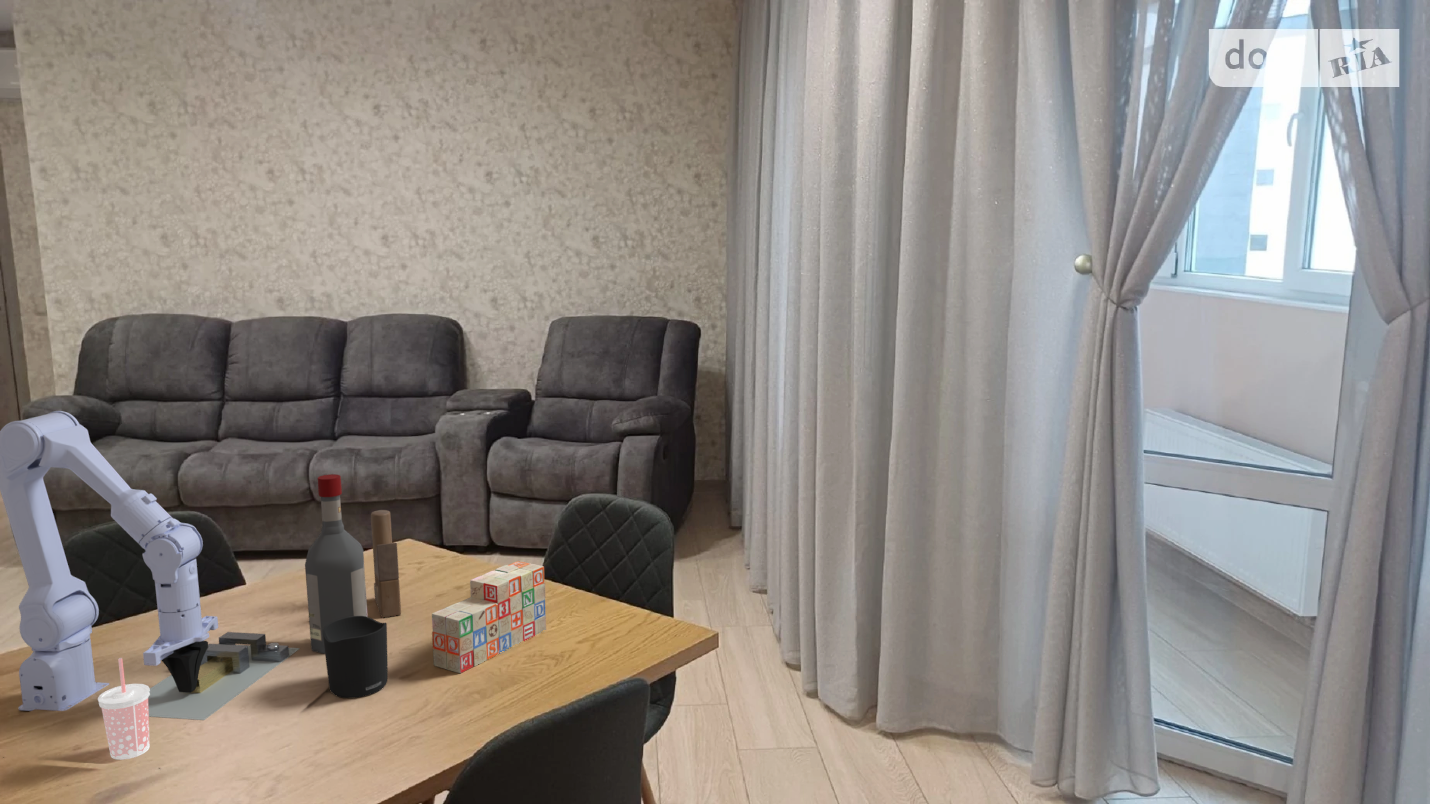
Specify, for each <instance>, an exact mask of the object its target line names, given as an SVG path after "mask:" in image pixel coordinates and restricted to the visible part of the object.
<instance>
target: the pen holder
mask: <svg viewBox="0 0 1430 804" xmlns="http://www.w3.org/2000/svg"><path fill="white" fill-rule="evenodd" d="M387 625H388V623H387V622H379V621H378V620H375V619H374V618H372V617H369V616H368V617H366V616H352V617H346V618H342V619H339V620H336V621H333V622H331V623H329V624H328V625H326V626H325V627H324V629H323V639H324V648H325V654H324V656H325V665H326V672H327V673H326V674H327V679H328V688H329V691H330V692H331V694H333V695H334V696H335V697H338V698H343V699H353V698H354V699H355V698H356V699H357V698H358V699H359V698H364V697H368V696H371V695H374V694H376V693H378V692H379V691H381V690H383V689H384V688H385V687H386V685H387V684H388V675H389V674H388V626H387ZM382 688H383V689H382Z"/></svg>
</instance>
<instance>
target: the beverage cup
mask: <svg viewBox="0 0 1430 804" xmlns="http://www.w3.org/2000/svg"><path fill="white" fill-rule="evenodd" d="M123 662H124V661H123V657H119V658H118V668H119V680H120V685H118V686H114V687H112V688H109V689H108V690H106V691H103V692H102V693H101V694H99V696H98V697H97V701H98V705H99V708H101V713H102V718H103V722H104V727H105V734H106V739H107V744H108V749H109V755H110V757H111V758H112V759H114V760H121V761H122V760H130V759H133V758H137V757H139V756H141V755H144V754H145V753H146V752H147V751H148V750H149V749H150V747H151V746H150V745H151V744H150V717H149V709H148V697H149V695H150V693H149V691H150V688H151V687H149V685H146V684H144V683H130V684H129V683H128V684H126V680H125V671H124V663H123Z"/></svg>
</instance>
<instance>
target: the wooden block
mask: <svg viewBox="0 0 1430 804" xmlns="http://www.w3.org/2000/svg"><path fill="white" fill-rule="evenodd" d="M391 517H392V516H391V511H389V510H387V509H379V510H375V511H372V512H371V513H370V523H371V525H370V526H371V538H372V539H371V541H372V555H373V556H372V557H373V571H374V572H373V573H374V583H373V589H374V591H373V592H374V600H375V603H376V606H377V608H378V611H379V614H380V617H381V618H382V617H385V618H391V617H390V616H392V617H397V616H396V615H398V616H401V615H402V606H401V603H402V602H401V589H400V588H401V587H400V579H399V578H400V575H399V574H400V572H399V557H398V555H399V554H398V553H399V552H398V542H393V537H392V536H393V535H392V519H391Z"/></svg>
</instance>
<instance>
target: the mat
mask: <svg viewBox="0 0 1430 804" xmlns="http://www.w3.org/2000/svg"><path fill="white" fill-rule="evenodd" d="M240 645H241V646H248V655H249V666H250V667H249V668H248V669H246V670H245V671H244V672H242V673H241V674H235V673H233V671H231V672H230V673H229V674H227V675H226V676H224V677H223V678H221V679H220V680H219V681H217V682H216V683H214V684H213V685H211V686H210V687H208V688H207V689H206V690H204V691H203V692H201V693H186V692H179V690H178V688H177V686H176V683H175V681H174V679H173V677H172V675H171V674H170V675H168V676H167V677H165V678H164V679H162V680H161V681H159V682H157V683H156V684H155V685H153V686H152V687H149V688H150V691H149V693H150V695H149V697H148V709H149V718H165V719H179V720H181V719H182V720H195V721H196V720H197V721H205V720H207V719H208V718H209V717H210V716H212V715H213V714H215V713H216V712H217V711H219V710H220V709H221V708H222V707H223V708H224V706H225V705H227V704H228V703H230V702H231V701H232V700H234V699H235V698H236V697H238V696H239V695H240V694H241V693H243V692H244V691H246V690H247V689H248V688H249V687H251V686H252V685H253V684H255V683H256V682H258V681H259V680H260V679H262V678H263V677H265V675H267V674H268V673H270V672H271V671H272V670H274V669H275V668H277V666H279V665H280V664H282V663H283V662H284V661H286V660H287V659H288V658H290V657H291V656H292V655H293V654H295V653H296V652H297V651H299V650H300V649H301V648H299V647H289V657H287V658H286V659H285V660H283V661H282V662H268V661H252V658H251V646H250V645H249V644H240Z"/></svg>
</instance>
